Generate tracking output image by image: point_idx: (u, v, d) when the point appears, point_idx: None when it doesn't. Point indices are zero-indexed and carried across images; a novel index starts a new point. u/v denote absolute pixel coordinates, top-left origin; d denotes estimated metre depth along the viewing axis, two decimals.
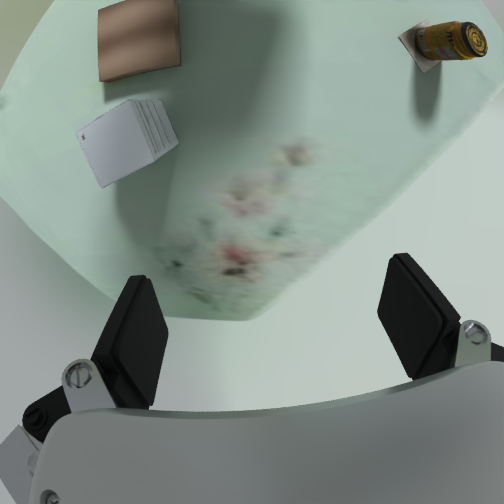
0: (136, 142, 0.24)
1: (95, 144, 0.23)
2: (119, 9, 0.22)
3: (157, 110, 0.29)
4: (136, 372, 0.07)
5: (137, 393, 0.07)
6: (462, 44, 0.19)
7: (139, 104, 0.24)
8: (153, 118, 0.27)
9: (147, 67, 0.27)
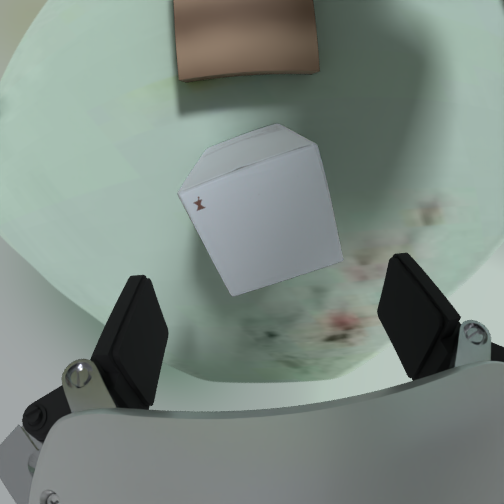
0: (318, 228, 0.14)
1: (229, 224, 0.14)
2: None
3: None
4: (136, 372, 0.07)
5: (137, 393, 0.07)
6: None
7: None
8: None
9: (270, 69, 0.18)
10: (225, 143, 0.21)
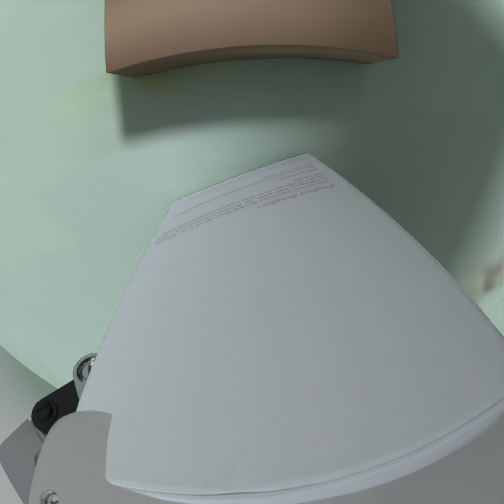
0: None
1: None
2: None
3: None
4: None
5: None
6: None
7: None
8: None
9: (302, 43, 0.07)
10: (205, 201, 0.11)
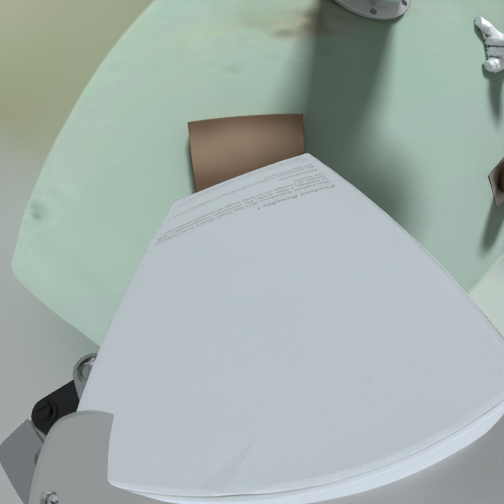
0: None
1: None
2: (224, 131, 0.25)
3: None
4: None
5: None
6: None
7: None
8: None
9: None
10: (205, 201, 0.11)
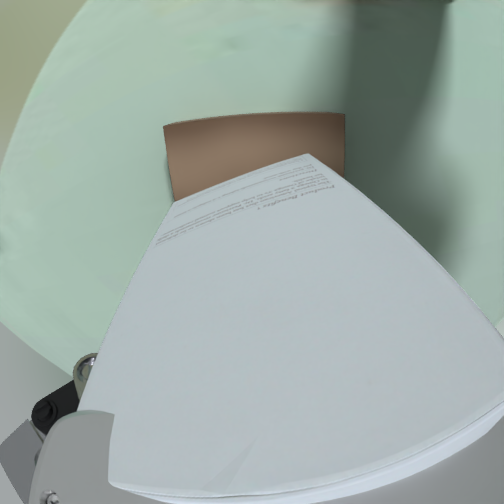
0: None
1: None
2: (220, 139, 0.15)
3: None
4: None
5: None
6: None
7: None
8: None
9: None
10: (205, 201, 0.11)
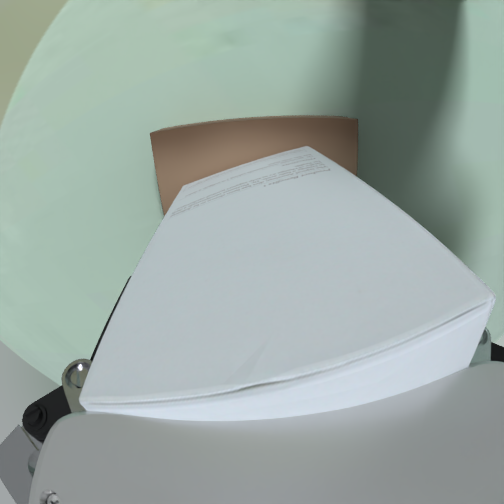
0: None
1: None
2: (216, 148, 0.13)
3: None
4: None
5: None
6: None
7: None
8: None
9: None
10: (215, 183, 0.12)
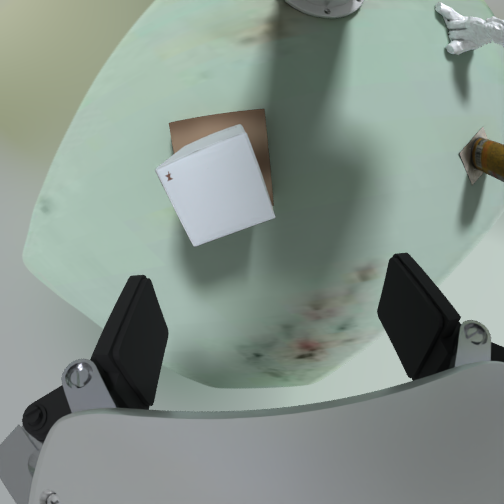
0: (252, 192, 0.20)
1: (189, 189, 0.20)
2: (199, 128, 0.29)
3: None
4: (136, 372, 0.07)
5: (137, 393, 0.07)
6: None
7: None
8: None
9: None
10: (197, 140, 0.27)
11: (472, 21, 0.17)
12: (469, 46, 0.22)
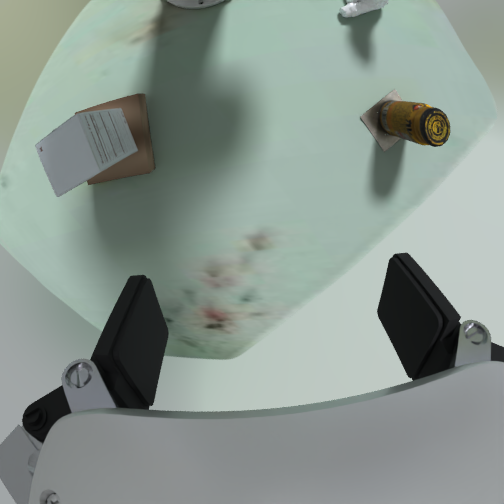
0: (83, 154, 0.23)
1: (51, 156, 0.23)
2: None
3: (113, 119, 0.29)
4: (136, 372, 0.07)
5: (137, 393, 0.07)
6: (419, 135, 0.28)
7: (89, 116, 0.23)
8: (106, 129, 0.27)
9: (126, 176, 0.37)
10: None
11: None
12: (366, 6, 0.25)
